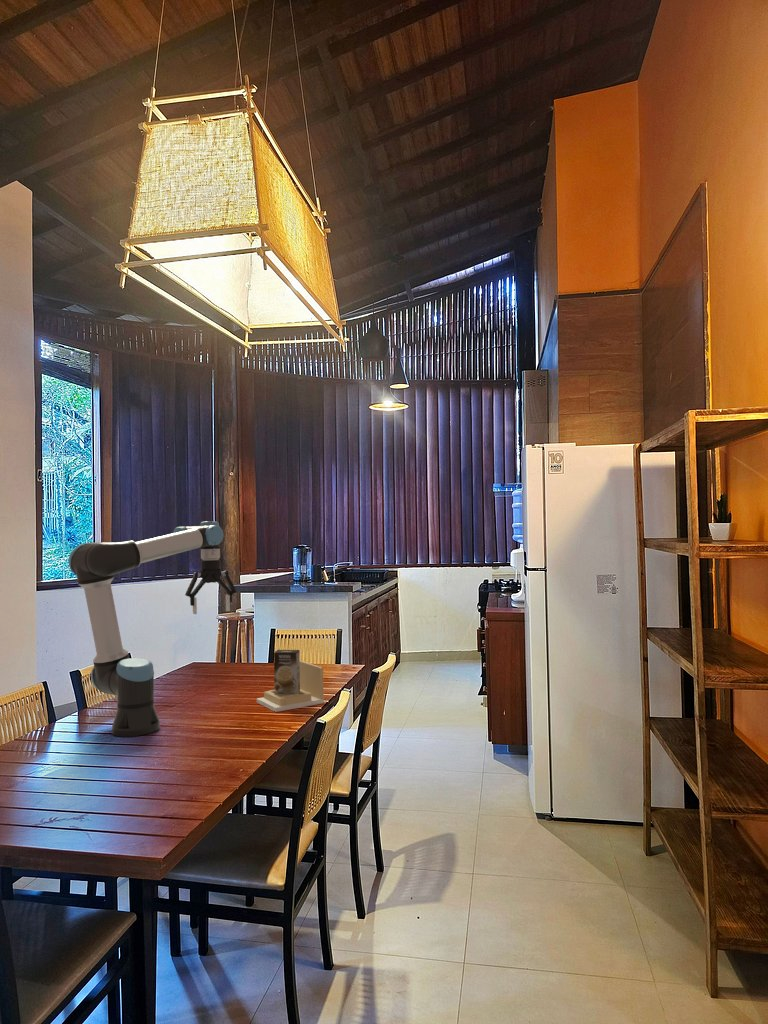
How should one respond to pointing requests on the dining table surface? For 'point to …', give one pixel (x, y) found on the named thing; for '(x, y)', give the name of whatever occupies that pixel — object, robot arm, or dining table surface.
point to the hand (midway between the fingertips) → (211, 612)
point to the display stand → (306, 696)
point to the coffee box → (286, 671)
